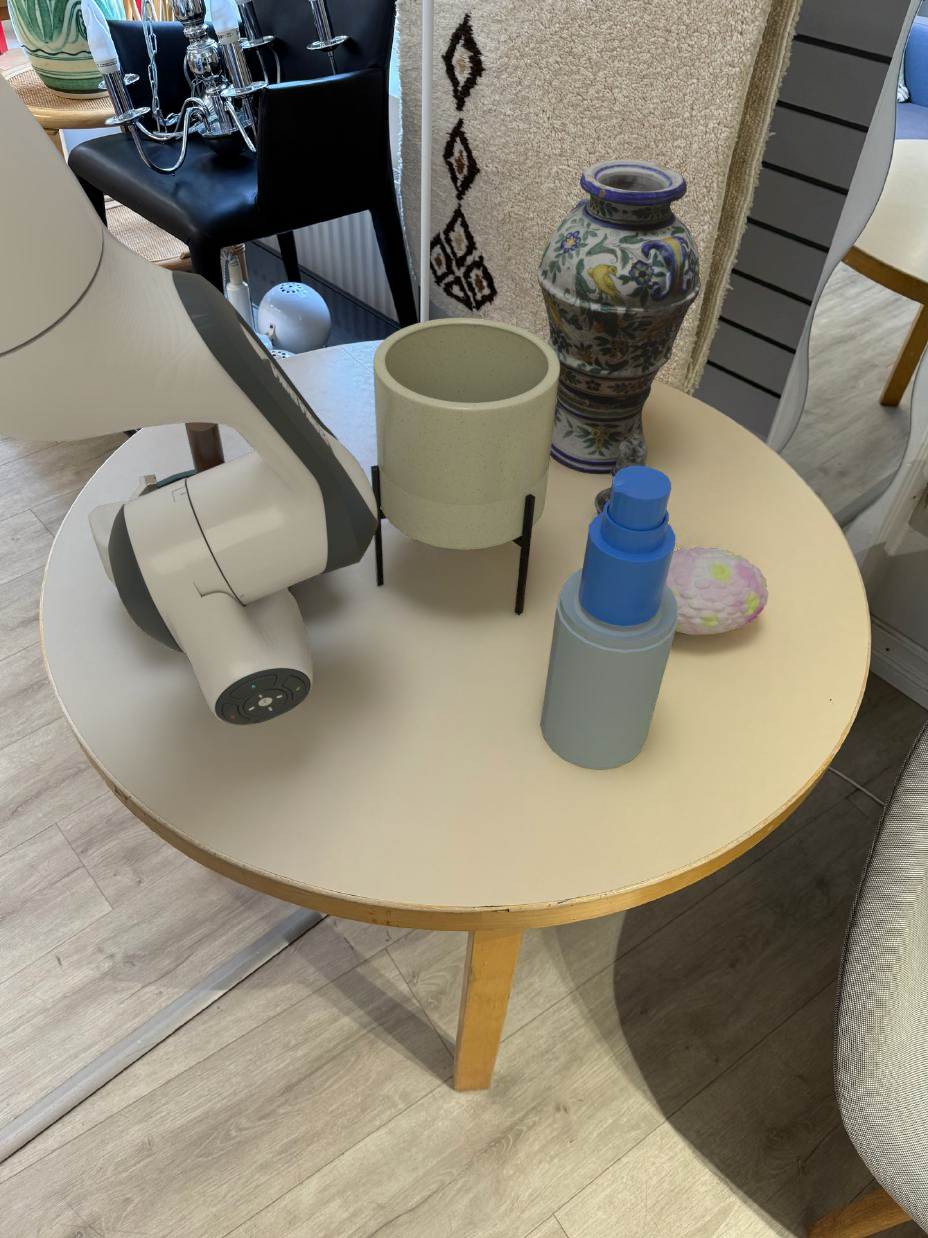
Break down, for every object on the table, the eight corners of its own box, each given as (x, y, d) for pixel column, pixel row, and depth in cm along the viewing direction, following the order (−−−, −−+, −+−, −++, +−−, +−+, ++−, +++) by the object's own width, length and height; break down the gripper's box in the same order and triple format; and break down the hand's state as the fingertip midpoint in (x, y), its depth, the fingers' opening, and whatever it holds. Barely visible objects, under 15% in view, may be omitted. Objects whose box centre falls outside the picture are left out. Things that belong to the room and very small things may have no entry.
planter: (363, 536, 93) (350, 325, 77) (510, 516, 96) (528, 309, 80) (392, 638, 83) (384, 419, 67) (556, 612, 86) (586, 396, 70)
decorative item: (608, 561, 84) (699, 508, 78) (671, 582, 92) (758, 535, 86) (637, 650, 80) (734, 600, 74) (700, 664, 88) (792, 620, 82)
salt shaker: (650, 521, 96) (672, 423, 88) (640, 554, 92) (661, 455, 84) (596, 509, 98) (613, 411, 89) (584, 541, 94) (599, 442, 85)
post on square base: (203, 569, 87) (174, 442, 77) (196, 537, 91) (167, 411, 81) (257, 559, 89) (235, 432, 79) (248, 527, 92) (226, 402, 82)
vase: (576, 504, 98) (617, 221, 77) (495, 426, 109) (511, 160, 88) (695, 464, 104) (762, 192, 83) (607, 394, 115) (647, 138, 94)
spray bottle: (639, 688, 79) (699, 445, 62) (653, 771, 73) (724, 526, 55) (537, 685, 79) (569, 440, 62) (543, 768, 73) (579, 521, 55)
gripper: (346, 509, 76) (307, 424, 85) (89, 560, 70) (77, 462, 79) (350, 567, 80) (313, 479, 89) (109, 618, 74) (96, 520, 84)
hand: (200, 472), depth 84 cm, fingers open, 8 cm apart
